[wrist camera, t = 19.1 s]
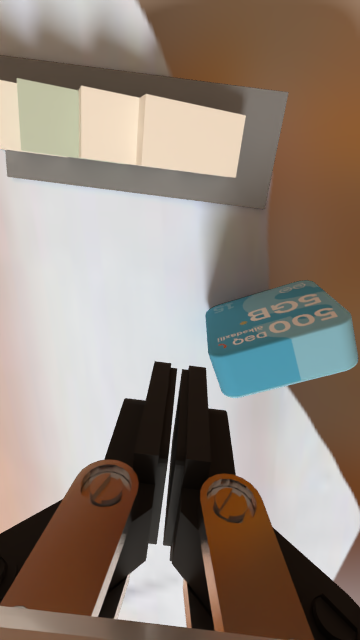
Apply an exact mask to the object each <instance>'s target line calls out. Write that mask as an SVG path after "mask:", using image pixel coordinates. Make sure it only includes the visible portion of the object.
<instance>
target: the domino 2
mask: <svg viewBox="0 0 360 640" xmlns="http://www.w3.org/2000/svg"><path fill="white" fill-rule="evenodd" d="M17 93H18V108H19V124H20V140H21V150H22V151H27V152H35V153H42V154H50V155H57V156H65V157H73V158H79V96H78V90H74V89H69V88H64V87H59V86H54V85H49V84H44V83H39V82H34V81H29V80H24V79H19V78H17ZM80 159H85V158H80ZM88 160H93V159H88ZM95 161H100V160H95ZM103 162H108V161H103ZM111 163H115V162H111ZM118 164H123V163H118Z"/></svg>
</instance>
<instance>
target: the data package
mask: <svg viewBox="0 0 360 640" xmlns="http://www.w3.org/2000/svg"><path fill="white" fill-rule="evenodd" d="M206 328H207V342H208V353H209V356H210V359H211V362H212V365H213V368H214V371H215V374H216V377H217V379H218V382H219V385H220V388H221V391H222V393H223V394H224V395H226V396H228V397H231V398H239V397H244V396H248V395H252V394H256V393H260V392H264V391H267V390H271V389H275V388H279V387H283V386H287V385H291V384H295V383H299V382H303V381H307V380H311V379H315V378H319V377H323V376H327V375H331V374H335V373H339V372H343V371H346V370H349V369H351V368H352V367H354V366H355V365H356V364H357V362H358V354H357V348H356V342H355V336H354V329H353V324H352V317H351V314H350V313H349V312H348V311H347V310H346V309H345V308H344V307H342V306H341V305H340V304H339V303H338V302H337V301H335V300H334V299H333V298H332V297H331V296H330V295H328V294H327V293H326V292H325V291H324V290H322V289H321V288H320V287H319V286H318V285H317V284H315V283H314V282H313V281H308V280H304V281H297V282H294V283H290V284H287V285H284V286H281V287H277V288H274V289H270V290H267V291H264V292H260V293H257V294H254V295H250V296H247V297H244V298H240V299H237V300H234V301H230V302H227V303H224V304H220V305H217V306H215V307H213V308H211V309H209V310H208V311H207V312H206Z"/></svg>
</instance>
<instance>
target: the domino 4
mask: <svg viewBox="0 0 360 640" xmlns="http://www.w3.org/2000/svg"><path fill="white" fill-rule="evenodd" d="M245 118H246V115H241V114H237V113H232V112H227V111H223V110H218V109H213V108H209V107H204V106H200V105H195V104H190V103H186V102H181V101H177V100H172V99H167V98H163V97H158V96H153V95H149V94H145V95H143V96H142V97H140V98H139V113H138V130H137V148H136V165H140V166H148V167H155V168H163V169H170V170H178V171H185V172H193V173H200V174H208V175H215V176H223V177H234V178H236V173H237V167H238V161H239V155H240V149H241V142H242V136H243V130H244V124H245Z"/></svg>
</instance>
